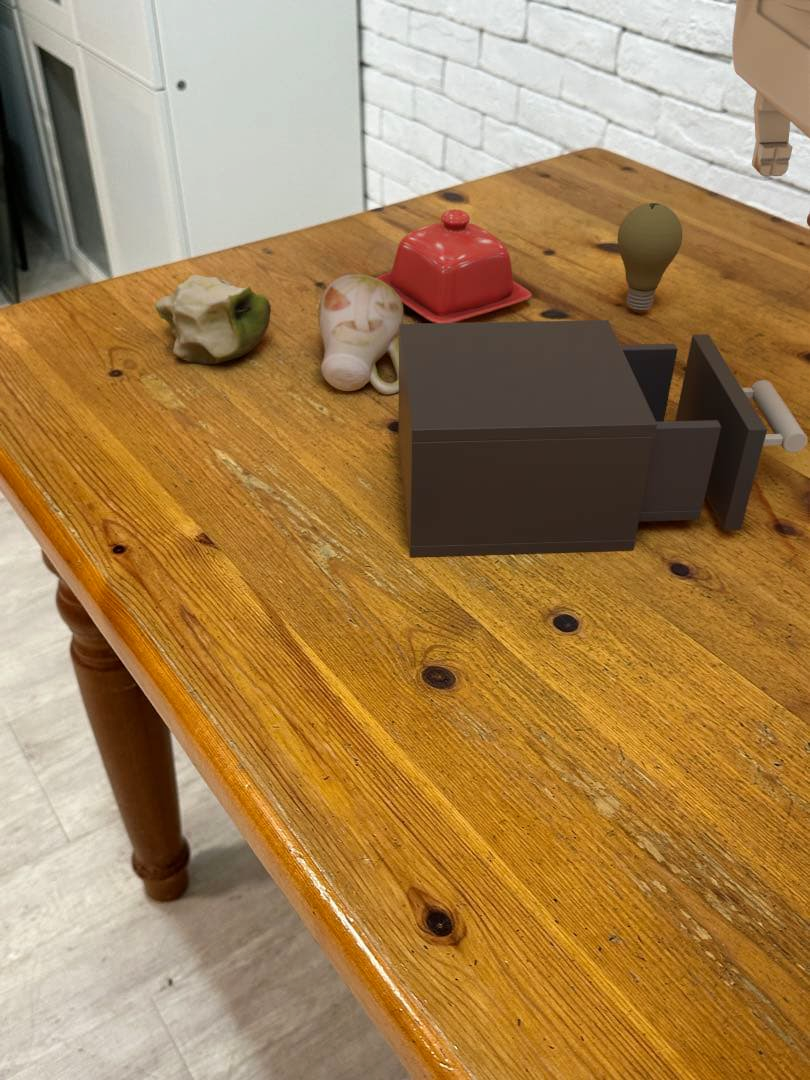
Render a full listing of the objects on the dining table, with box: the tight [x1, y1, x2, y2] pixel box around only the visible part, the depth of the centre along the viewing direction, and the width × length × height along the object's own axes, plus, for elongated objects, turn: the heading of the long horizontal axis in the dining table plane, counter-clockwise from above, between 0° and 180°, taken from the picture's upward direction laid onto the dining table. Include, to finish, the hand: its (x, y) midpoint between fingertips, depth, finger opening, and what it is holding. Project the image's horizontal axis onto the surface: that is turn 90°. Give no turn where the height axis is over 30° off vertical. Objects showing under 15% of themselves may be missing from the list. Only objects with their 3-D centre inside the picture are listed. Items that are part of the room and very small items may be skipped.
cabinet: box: [397, 319, 657, 558], centre depth 71 cm, size 15×14×10 cm
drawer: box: [620, 333, 808, 532], centre depth 71 cm, size 18×13×8 cm
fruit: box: [154, 274, 272, 365], centre depth 88 cm, size 9×9×8 cm
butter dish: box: [375, 209, 533, 323], centre depth 96 cm, size 12×12×8 cm
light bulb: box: [616, 202, 683, 314], centre depth 94 cm, size 6×6×10 cm
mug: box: [317, 273, 405, 395], centre depth 86 cm, size 8×10×10 cm
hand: (795, 200), depth 61 cm, fingers open, 8 cm apart
